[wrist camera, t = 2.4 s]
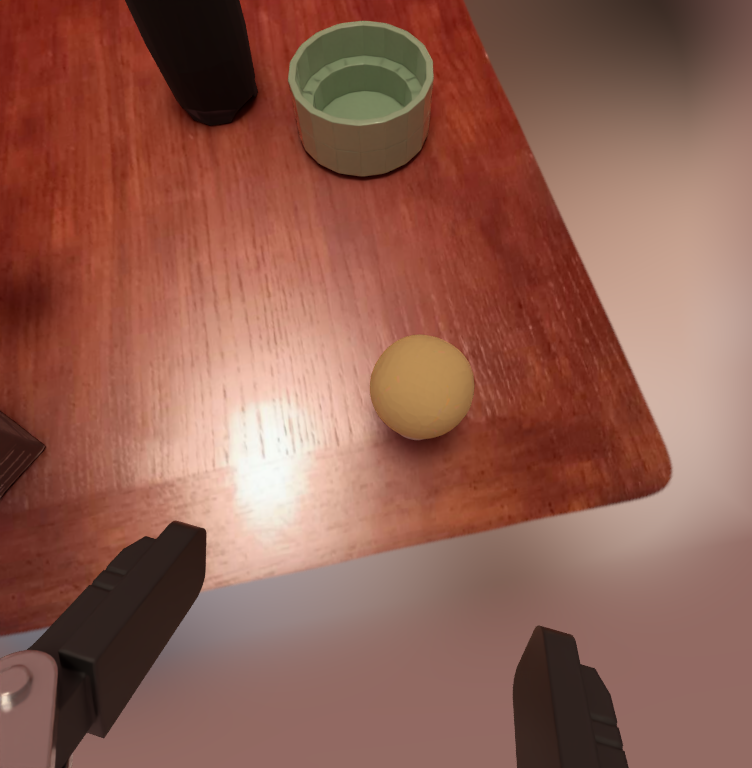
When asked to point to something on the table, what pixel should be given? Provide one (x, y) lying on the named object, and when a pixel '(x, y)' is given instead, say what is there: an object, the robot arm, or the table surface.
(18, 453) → the box
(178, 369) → the table surface
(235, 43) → the portable speaker
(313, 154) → the green stepped bowl
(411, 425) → the light bulb
